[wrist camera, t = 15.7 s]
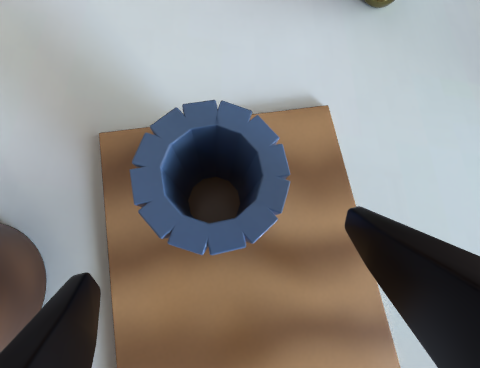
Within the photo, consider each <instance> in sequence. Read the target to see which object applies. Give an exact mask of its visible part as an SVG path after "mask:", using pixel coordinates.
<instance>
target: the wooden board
mask: <svg viewBox="0 0 480 368" xmlns="http://www.w3.org/2000/svg"><path fill="white" fill-rule="evenodd" d="M256 115H259V117H260V118H261V119H262V120H263V121H264V122H265V123H266V124H267V125H268V126H269V127H270V128H271V129H272V130H273V131H274V132H275V133H276V134H277V136H278V137H279V140H278V141H277V143H276V144H283V147H284V151H285V155H286V158H287V162H288V166H289V170H290V175H289V176H288V177H287V178H286V180H289V181H290V186H289V190H288V194H287V197H286V201H285V204H284V208H283V212H282V213H281V214H278V215H275V216H276V217H277V218H278V221H277V222H275V223H274V224H273V225H272V226H271V227H270V228H269V229H268V230H267V231H266V232H265V233H264V234H263V235H262V236H261V237H260V238H259V239H258V240H257V241H256V242H255V243H253V244H252V243H248V242H246V247H245V248H242V249H238V250H234V251H229V252H225V253H221V254H216V255H210V254H209V248H207V249H206V251H205V253H204V254H203V255H200V254H197V253H194V252H190V251H187V250H184V249H181V248H178V247H175V246H172V245H169V244H168V239H169V238H166V239H160V238H159V237H158V236H157V234H156V233H155V232H154V231H153V230H152V228H151V227H150V226H149V225H148V224H147V222H146V221H145V220H144V219H143V218H142V217H141V215H140V214H139V213H138V211H139V209H141V208H142V207H139V206H136V205H134V200H133V193H132V185H131V177H130V169H135V168H137V167H136V166H135V165H133V164H132V160H133V158H134V156H135V153H136V151H137V149H138V147H139V144H140V142H141V140H142V138H143V136H144V134H145V133H150V134H153V132H152V131H151V129H150V127H146V128H138V129H130V130H121V131H113V132H105V133H99V138H100V151H101V164H102V178H103V191H104V204H105V217H106V230H107V244H108V257H109V270H110V283H111V296H112V310H113V323H114V336H115V349H116V362H117V368H400V364H399V360H398V357H397V353H396V350H395V346H394V342H393V339H392V335H391V332H390V328H389V324H388V321H387V317H386V313H385V310H384V306H383V303H382V299H381V295H380V292H379V288H378V284H377V281H376V280H375V278H374V277H373V276H372V274H371V273H370V271H369V270H368V268H367V267H366V265H365V264H364V262H363V260H362V259H361V257H360V255H359V253H358V252H357V250H356V248H355V246H354V244H353V243H352V241H351V239H350V237H349V236H348V234H347V232H346V230H345V220H346V215H347V211H348V209H350V208H353V207H356V205H355V201H354V198H353V194H352V190H351V187H350V183H349V180H348V176H347V172H346V169H345V165H344V161H343V158H342V154H341V151H340V147H339V143H338V140H337V136H336V132H335V129H334V125H333V122H332V118H331V114H330V111H329V107H328V105H326V106H318V107H310V108H302V109H294V110H285V111H277V112H269V113H261V114H253V115H251V118H250V120H251V119H252V118H254V117H255V116H256ZM153 135H154V134H153ZM276 144H275V145H276ZM188 202H189V208H190V213H191V215H192V216H193V217H194V218H195V219H198V220H201V221H204V222H207V223H213V222H218V221H222V220H227V219H232V218H235V217H236V215H237V212H238V209H239V206H240V200H239V195H238V191H237V190H236V188H235V187H234V186H233V185H232V184H231V183H230V182H229V181H227V180H224V179H222V178H219V177H212V178H207V179H203V180H202V181H200V182H199V183H198V184H197V185H195V186H194V187H193V189H192V191H191V194H190V197H189V199H188Z"/></svg>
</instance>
